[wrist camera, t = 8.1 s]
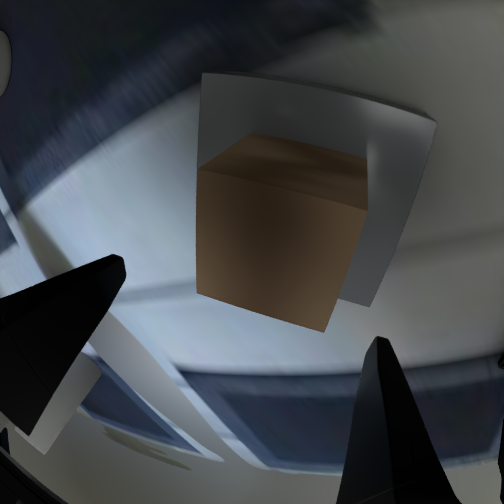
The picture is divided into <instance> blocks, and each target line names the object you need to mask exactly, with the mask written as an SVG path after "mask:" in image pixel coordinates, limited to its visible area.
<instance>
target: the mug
mask: <svg viewBox="0 0 504 504" xmlns="http://www.w3.org/2000/svg"><path fill="white" fill-rule="evenodd" d="M11 65H12V54H11V46H10V42H9V39H8V37H7V35H6V34H5V33H4V32H2V31H0V96H1V95H2V94H3V93H4V92H5V90H6V88H7V85H8V82H9V79H10V74H11Z"/></svg>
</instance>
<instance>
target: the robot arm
mask: <svg viewBox="0 0 504 504" xmlns="http://www.w3.org/2000/svg"><path fill="white" fill-rule="evenodd" d="M125 279H126V270H125V264H124V259H123V258H122V257H121V256H118V255H115V254H111V255H109V256H106V257H103V258H101V259H98V260H96V261H93V262H91V263H88V264H85V265H83V266H80V267H78V268H75V269H73V270H70V271H68V272H65V273H63V274H60V275H58V276H55V277H53V278H50V279H48V280H46V281H43V282H41V283H38V284H36V285H34V286H33V287H32V286H31V287H29V288H26V289H24V290H21V291H19V292H16V293H14V294H11V295H8V296H6V297H3V298H0V504H68V503H67V502H65V501H64V500H63V499H61V498H60V497H59V496H57V495H56V494H54V493H53V492H52V491H51V490H50V489H48V488H47V487H46V486H44V485H43V484H42V483H41V482H39V481H38V480H37V479H36V478H35V477H34V476H32V475H31V474H30V473H29V472H28V471H27V470H26V469H24V468H23V467H22V466H21V465H20V464H19V463H18V462H17V461H16V460H15V459H13V458H12V457H11V456H10V451H9V442H8V432H7V428H6V427H5V426H6V424H7V423H8V422H9V420H10V421H11V422H12V423H14V424H15V425H16V426H17V427H18V428H19V429H20V430H21V431H23V432H24V433H25V434H26V435H27V436H30V434H31V433H32V431H33V429H34V427H35V426H36V424H37V422H38V420H39V419H40V417H41V415H42V413H43V412H44V410H45V408H46V406H47V405H48V403H49V401H50V400H51V398H52V396H53V394H54V393H55V391H56V389H57V388H58V386H59V385H60V383H61V381H62V380H63V378H64V376H65V375H66V373H67V372H68V370H69V368H70V367H71V365H72V364H73V362H74V361H75V359H76V358H77V356H78V354H79V353H80V351H81V350H82V348H83V347H84V345H85V344H86V342H87V341H88V339H89V338H90V336H91V335H92V333H93V332H94V330H95V329H96V327H97V326H98V324H99V323H100V321H101V320H102V319H103V317H104V315H105V314H106V313H107V311H108V309H109V308H110V306H111V304H112V302H113V301H114V299H115V297H116V295H117V293H118V292H119V290H120V288H121V286H122V285H123V283H124V281H125ZM498 367H499V368H501V369H504V356H503V357H502V358H501V359H500V360H499V362H498ZM424 427H425V425H424V422H423V419H422V417H421V414H420V412H419V409H418V407H417V404H416V402H415V399H414V397H413V394H412V392H411V389H410V387H409V385H408V382H407V380H406V377H405V375H404V373H403V370H402V368H401V366H400V363H399V361H398V359H397V357H396V354H395V352H394V350H393V348H392V345H391V343H390V341H389V340H388V339H387V338H384V337H380V336H377V337H375V339H374V340H373V342H372V344H371V345H370V347H369V349H368V350H367V352H366V355H365V358H364V363H363V368H362V372H361V376H360V381H359V385H358V389H357V393H356V397H355V403H354V410H353V417H352V424H351V430H350V436H349V442H348V448H347V454H346V459H345V464H344V469H343V474H342V479H341V484H340V489H339V493H338V497H337V502H336V504H462V503H461V502H460V501H459V500H458V499H457V497H456V496H455V494H454V492H453V490H452V487H451V485H450V483H449V481H448V479H447V476H446V475H445V472H444V470H443V468H442V466H441V464H440V462H439V459H438V457H437V455H436V453H435V450H434V448H433V445H432V443H431V440H430V438H429V435H428V432H427V430H426V428H424ZM498 465H499V469H500V473H501V479H502V482H501V494H500V500H501V502H502V504H504V419H503V426H502V434H501V443H500V450H499V457H498Z"/></svg>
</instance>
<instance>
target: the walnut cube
mask: <svg viewBox="0 0 504 504" xmlns="http://www.w3.org/2000/svg"><path fill="white" fill-rule="evenodd" d="M367 212H368V168H367V159H365V158H361V157H358V156H354V155H350V154H347V153H343V152H339V151H335V150H331V149H327V148H323V147H319V146H315V145H310V144H306V143H302V142H297V141H293V140H288V139H283V138H278V137H273V136H268V135H263V134H257V133H252V132H251V133H250V134H248V135H247V136H245V137H244V138H242V139H241V140H239V141H238V142H236V143H235V144H233V145H232V146H230V147H229V148H227V149H226V150H224V151H223V152H221V153H220V154H218V155H217V156H216V157H214V158H213V159H211V160H210V161H208V162H207V163H205V164H204V165H203V166H201V167H200V168H198V169H197V196H196V285H197V293H198V294H201V295H204V296H207V297H210V298H213V299H216V300H219V301H222V302H225V303H228V304H231V305H234V306H237V307H241V308H244V309H247V310H250V311H253V312H256V313H259V314H263V315H266V316H269V317H272V318H276V319H279V320H282V321H286V322H289V323H292V324H296V325H299V326H303V327H306V328H309V329H313V330H316V331H320V332H323V333H324V331H325V329H326V327H327V324H328V322H329V319H330V317H331V314H332V312H333V309H334V306H335V304H336V301H337V299H338V296H339V293H340V291H341V288H342V285H343V283H344V280H345V277H346V275H347V272H348V269H349V266H350V263H351V261H352V258H353V255H354V252H355V249H356V246H357V243H358V240H359V237H360V234H361V231H362V228H363V225H364V222H365V219H366V215H367Z"/></svg>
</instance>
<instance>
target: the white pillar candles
mask: <svg viewBox="0 0 504 504" xmlns="http://www.w3.org/2000/svg"><path fill="white" fill-rule="evenodd" d="M101 375H102V372H101V370H100V368H99V367H98V366H97V365H96V364H95V363H94V362H93V361H92V360H91V359H90V358H89V357H88V356H86V355H85V354H84V353H82V352H80V353H79V354H78V356H77V358H76V359H75V361H74V362H73V364H72V365H71V367H70V368H69V370H68V372H67V373H66V375H65V376H64V378H63V380H62V381H61V383H60V385H59V386H58V388H57V389H56V391H55V393H54V394H53V396H52V398H51V400H50V401H49V403H48V405H47V406H46V408H45V410H44V412H43V413H42V415H41V417H40V419H39V420H38V422H37V424H36V426H35V427H34V429H33V431H32V433H31V434H30V436H27V435H26V434H25V433H24V432H23V431H21V430H20V429H19V428H18V427H17V426H16V428H15V430H16V431H17V432H18V433H19V434H20V435H21V436H22V437H23V438H24V439H26V440H27V441H28V442H29V443H30V444H31V445H33V446H34V447H35V448H36V449H38V450H39V451H40V452H42V453H43V454H44V455H45V453H46V452H47V451H48V449H49V448H50V446H51V445H52V443H53V442H54V441H55V439H56V438H57V436H58V435H59V433H60V432H61V430H62V429H63V428H64V426H65V425H66V423H67V422H68V420H69V419H70V418H71V416H72V415H73V413H74V412H75V411H76V409H77V408H78V406H79V405H80V404H81V402H82V401H83V399H84V398H85V397H86V395H87V394H88V393H89V391H90V390H91V388H92V387H93V386H94V384H95V383H96V382H97V380H98V379H99V378H100V376H101Z"/></svg>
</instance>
